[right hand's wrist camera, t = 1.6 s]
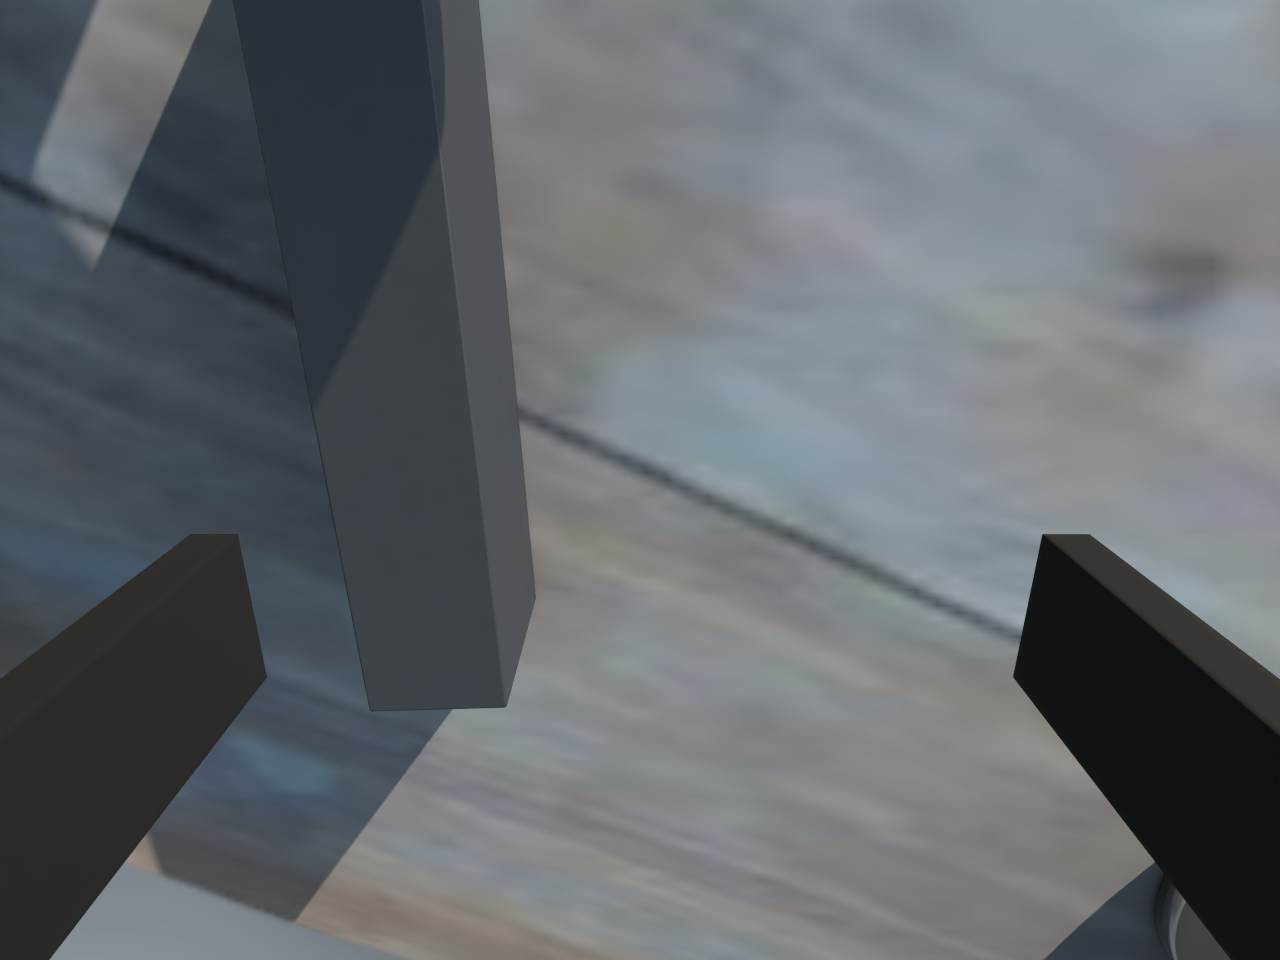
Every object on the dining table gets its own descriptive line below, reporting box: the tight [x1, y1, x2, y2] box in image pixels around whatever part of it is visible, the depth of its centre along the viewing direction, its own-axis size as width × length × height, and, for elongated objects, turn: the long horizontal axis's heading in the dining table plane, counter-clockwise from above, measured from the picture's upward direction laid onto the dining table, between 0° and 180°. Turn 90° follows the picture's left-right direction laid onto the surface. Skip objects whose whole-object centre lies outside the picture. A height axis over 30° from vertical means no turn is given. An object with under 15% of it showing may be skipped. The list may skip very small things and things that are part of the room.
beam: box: [233, 0, 536, 711], centre depth 26 cm, size 30×5×8 cm, turn 2°
